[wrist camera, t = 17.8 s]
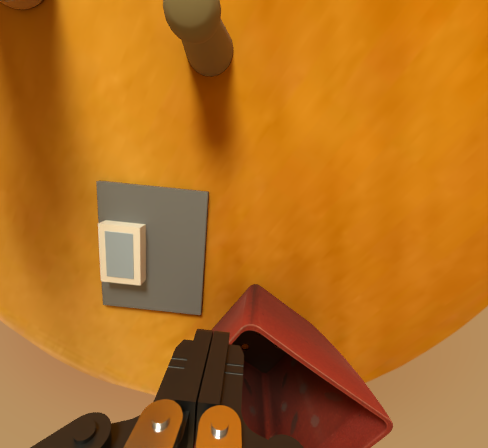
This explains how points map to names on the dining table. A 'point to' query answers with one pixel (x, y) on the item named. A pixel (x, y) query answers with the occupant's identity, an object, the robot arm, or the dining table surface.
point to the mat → (160, 245)
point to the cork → (201, 33)
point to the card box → (122, 252)
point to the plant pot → (299, 379)
